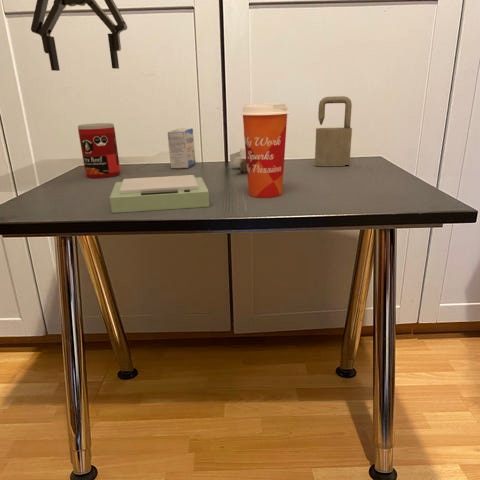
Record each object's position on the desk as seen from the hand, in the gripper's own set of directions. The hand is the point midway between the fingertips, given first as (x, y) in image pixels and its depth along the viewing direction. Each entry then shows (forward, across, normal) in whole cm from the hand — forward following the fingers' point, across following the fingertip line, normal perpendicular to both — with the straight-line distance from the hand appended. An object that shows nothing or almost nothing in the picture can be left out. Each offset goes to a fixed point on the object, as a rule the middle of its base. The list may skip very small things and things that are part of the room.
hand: (85, 69), depth 106 cm
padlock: (+22, -56, -4) cm, 60 cm away
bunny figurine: (+22, -36, +2) cm, 42 cm away
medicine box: (+22, -19, -7) cm, 30 cm away
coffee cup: (+22, -40, +28) cm, 54 cm away
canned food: (+22, -2, +4) cm, 23 cm away
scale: (+22, -22, +32) cm, 45 cm away
